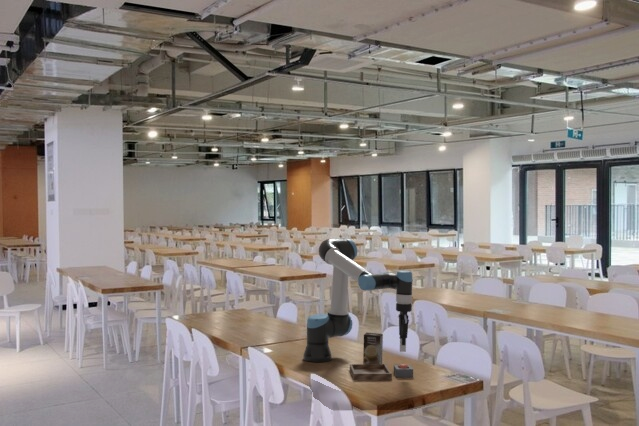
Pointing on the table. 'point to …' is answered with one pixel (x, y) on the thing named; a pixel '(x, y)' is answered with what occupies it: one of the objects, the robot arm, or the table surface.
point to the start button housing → (403, 372)
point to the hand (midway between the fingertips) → (402, 351)
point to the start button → (403, 366)
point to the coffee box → (373, 348)
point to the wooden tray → (370, 372)
